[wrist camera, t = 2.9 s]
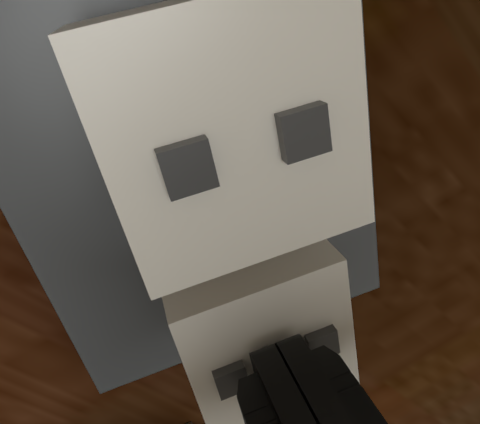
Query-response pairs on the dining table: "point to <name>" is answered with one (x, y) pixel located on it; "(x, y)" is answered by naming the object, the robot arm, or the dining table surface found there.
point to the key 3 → (259, 321)
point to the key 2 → (224, 128)
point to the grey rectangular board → (90, 204)
